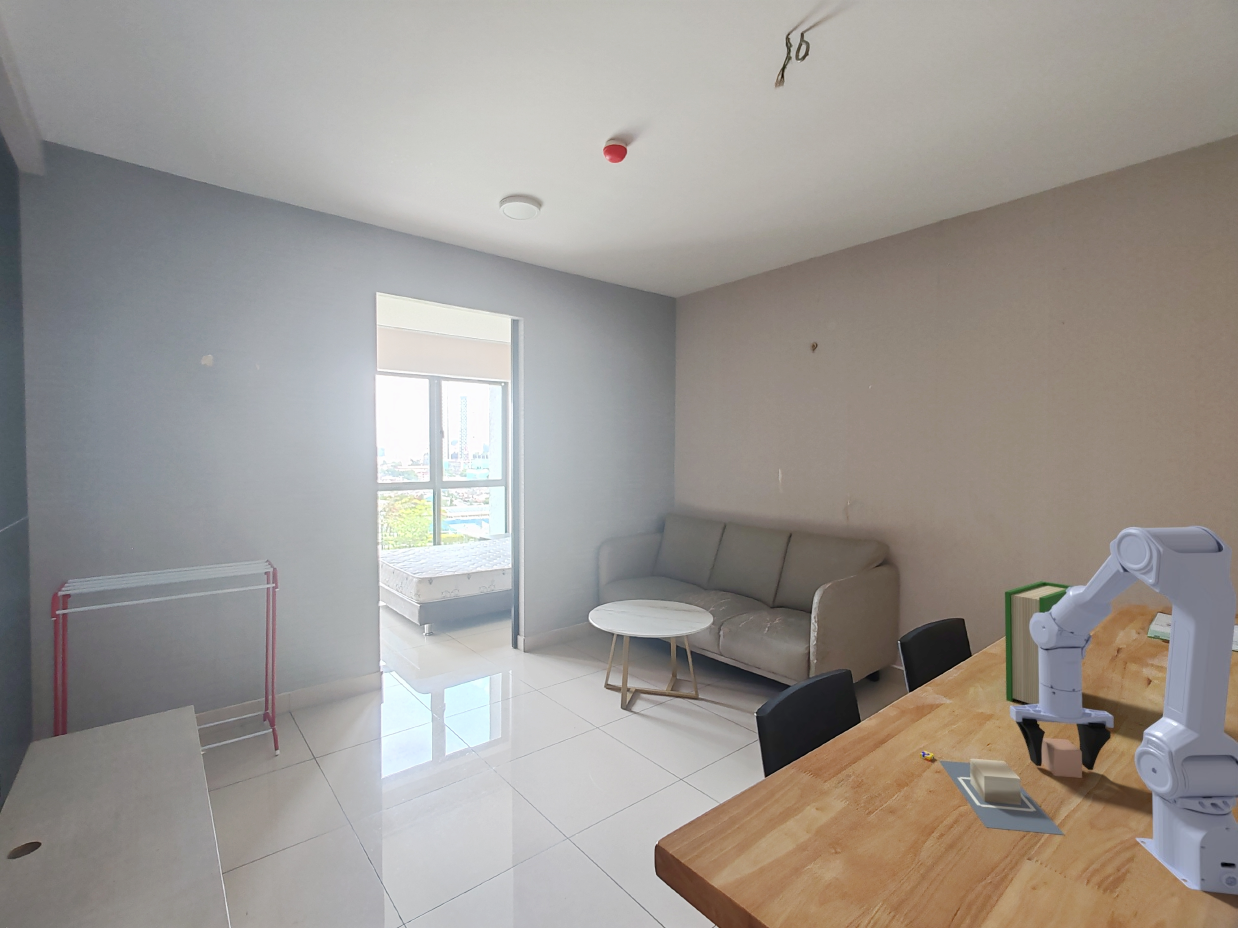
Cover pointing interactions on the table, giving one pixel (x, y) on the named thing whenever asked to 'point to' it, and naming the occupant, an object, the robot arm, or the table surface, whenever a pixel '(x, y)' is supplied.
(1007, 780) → the birch base block
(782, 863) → the table surface
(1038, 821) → the board
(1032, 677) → the hardback book
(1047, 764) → the terracotta block
